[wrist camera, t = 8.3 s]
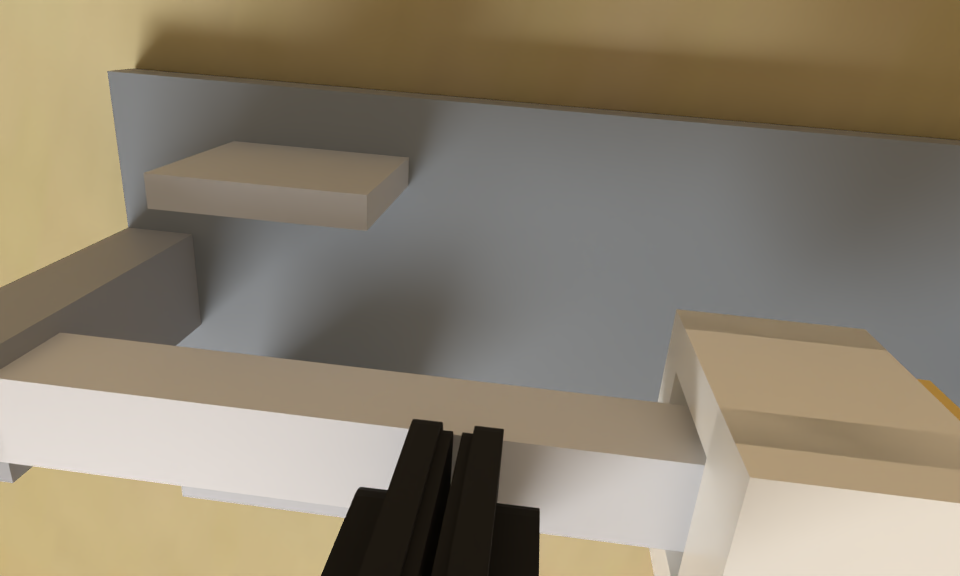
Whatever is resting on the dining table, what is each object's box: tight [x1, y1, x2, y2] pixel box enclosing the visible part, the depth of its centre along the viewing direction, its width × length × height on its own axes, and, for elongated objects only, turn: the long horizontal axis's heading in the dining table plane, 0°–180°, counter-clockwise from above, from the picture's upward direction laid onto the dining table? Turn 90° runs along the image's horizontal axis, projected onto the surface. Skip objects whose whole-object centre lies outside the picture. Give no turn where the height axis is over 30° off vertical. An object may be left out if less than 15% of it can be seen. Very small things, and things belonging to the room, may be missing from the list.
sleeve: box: [649, 309, 960, 576], centre depth 12 cm, size 5×4×6 cm
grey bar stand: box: [0, 69, 960, 552], centre depth 16 cm, size 12×28×10 cm, turn 87°
